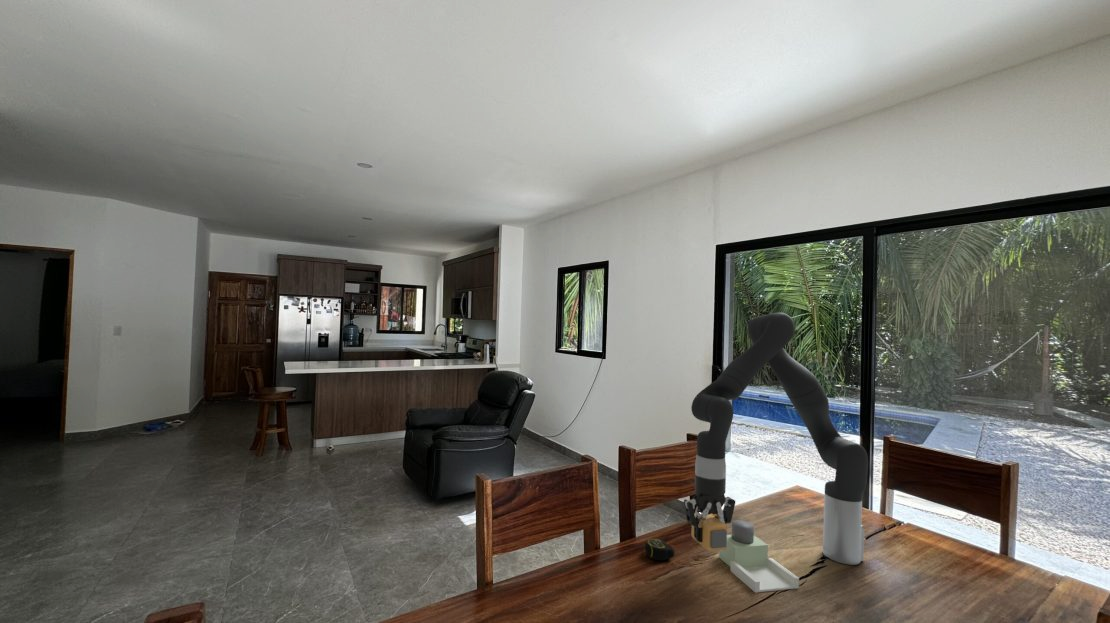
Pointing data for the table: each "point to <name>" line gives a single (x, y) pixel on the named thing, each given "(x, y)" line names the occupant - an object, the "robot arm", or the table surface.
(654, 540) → the tape measure
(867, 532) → the table surface
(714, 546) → the tall mustard block
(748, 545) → the green stand
